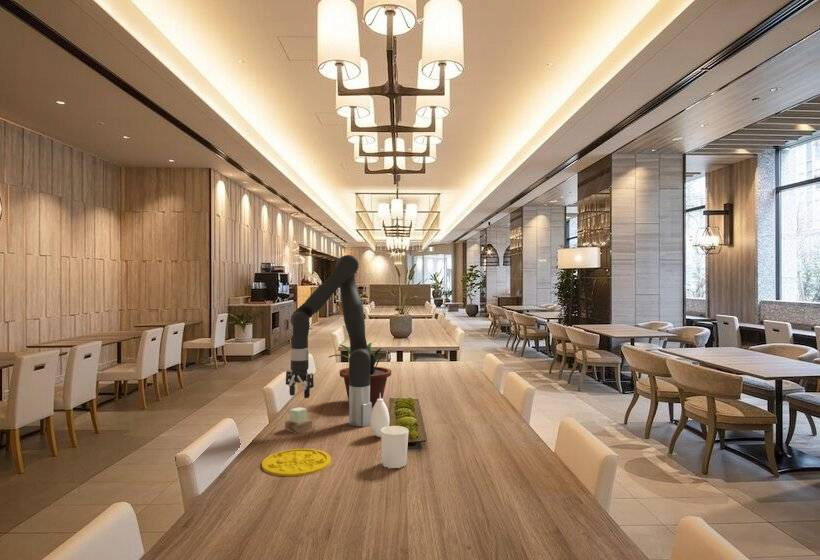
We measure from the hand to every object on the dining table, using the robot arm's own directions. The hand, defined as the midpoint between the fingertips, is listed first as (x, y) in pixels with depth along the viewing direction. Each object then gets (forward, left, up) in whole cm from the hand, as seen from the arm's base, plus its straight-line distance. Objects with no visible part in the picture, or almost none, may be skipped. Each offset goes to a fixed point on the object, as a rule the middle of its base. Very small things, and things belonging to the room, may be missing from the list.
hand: (299, 396), depth 207 cm
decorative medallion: (-27, +27, -15) cm, 41 cm away
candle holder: (-56, +9, -14) cm, 58 cm away
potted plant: (+5, -47, -14) cm, 49 cm away
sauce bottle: (-34, -12, -14) cm, 39 cm away
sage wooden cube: (0, 0, -10) cm, 10 cm away
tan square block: (0, 0, -14) cm, 14 cm away
